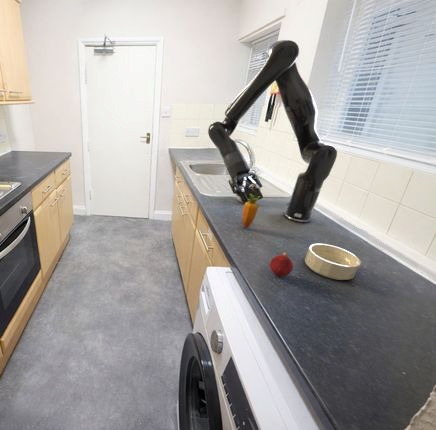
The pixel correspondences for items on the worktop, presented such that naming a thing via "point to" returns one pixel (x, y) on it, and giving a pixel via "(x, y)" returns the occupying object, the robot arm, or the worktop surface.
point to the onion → (281, 265)
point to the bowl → (332, 261)
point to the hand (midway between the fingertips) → (253, 200)
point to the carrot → (250, 211)
